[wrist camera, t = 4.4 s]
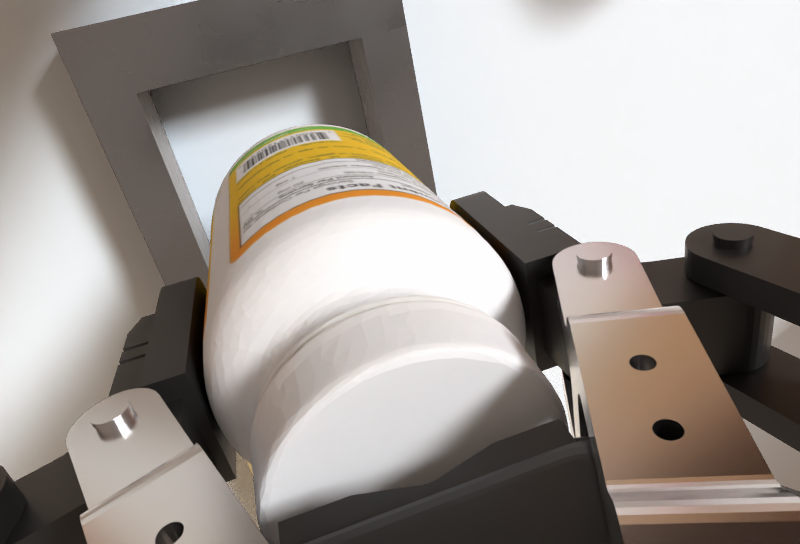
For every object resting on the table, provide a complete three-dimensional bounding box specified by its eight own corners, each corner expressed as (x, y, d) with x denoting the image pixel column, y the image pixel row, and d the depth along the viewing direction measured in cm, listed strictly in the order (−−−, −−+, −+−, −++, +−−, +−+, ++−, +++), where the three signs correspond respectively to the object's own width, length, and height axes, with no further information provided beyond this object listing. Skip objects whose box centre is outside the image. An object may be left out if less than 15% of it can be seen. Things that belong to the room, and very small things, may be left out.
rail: (374, -39, 19) (393, -45, 17) (469, 452, 30) (489, 487, 28) (70, 29, 18) (50, 33, 16) (287, 521, 29) (293, 564, 27)
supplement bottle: (357, 334, 17) (482, 658, 9) (178, 269, 15) (112, 621, 6) (448, 177, 16) (700, 377, 7) (267, 79, 14) (330, 206, 5)
